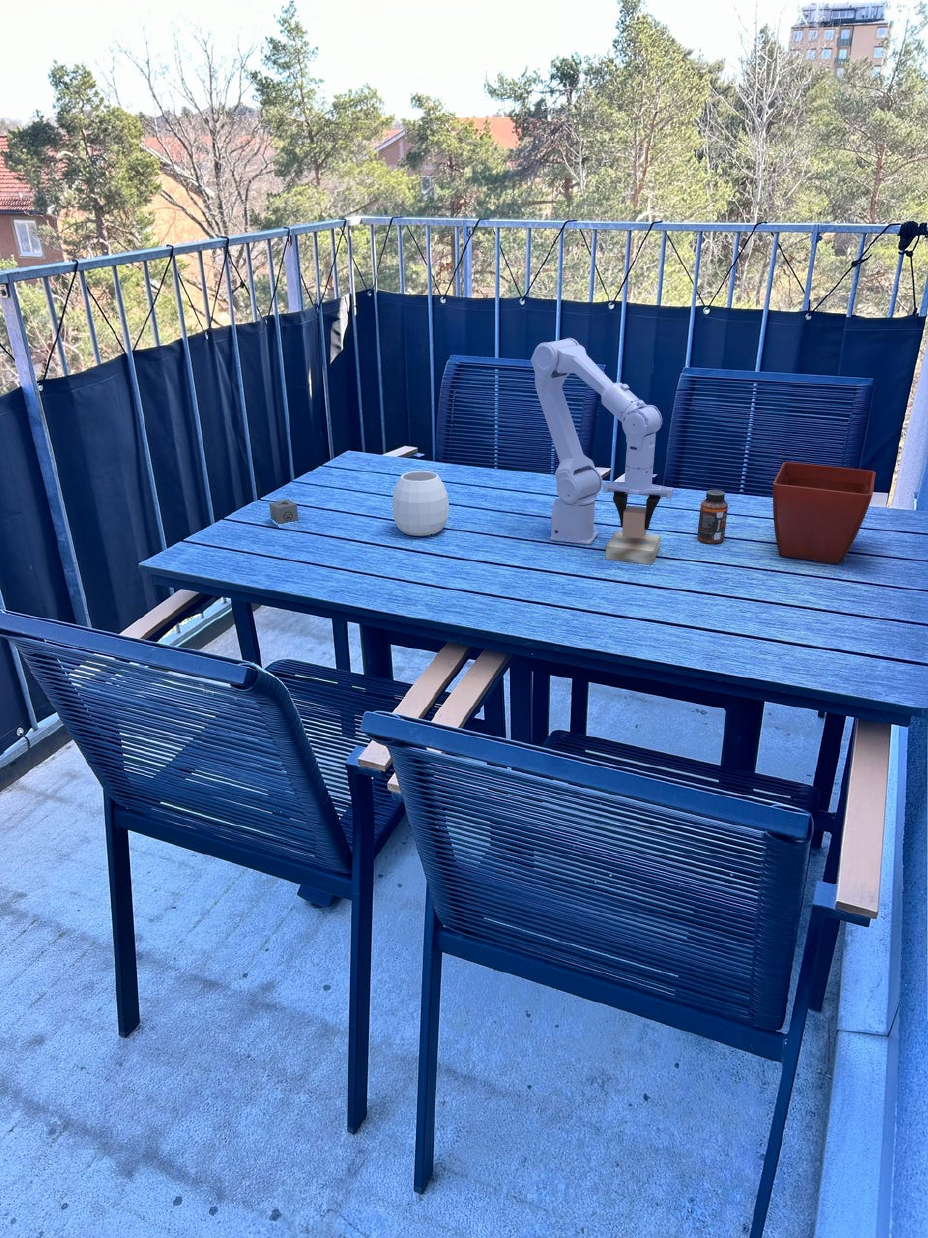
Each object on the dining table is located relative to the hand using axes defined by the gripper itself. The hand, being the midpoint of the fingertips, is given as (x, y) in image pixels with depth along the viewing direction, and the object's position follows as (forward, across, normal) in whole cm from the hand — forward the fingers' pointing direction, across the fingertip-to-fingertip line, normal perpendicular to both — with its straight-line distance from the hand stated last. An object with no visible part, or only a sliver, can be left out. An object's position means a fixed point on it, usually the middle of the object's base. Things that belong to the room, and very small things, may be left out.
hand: (634, 526), depth 192 cm
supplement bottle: (+6, +15, +14) cm, 21 cm away
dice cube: (+6, -84, -6) cm, 84 cm away
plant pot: (+6, +37, +14) cm, 40 cm away
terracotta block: (+2, 0, 0) cm, 2 cm away
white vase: (+6, -50, -1) cm, 50 cm away
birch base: (+6, 0, 0) cm, 6 cm away
